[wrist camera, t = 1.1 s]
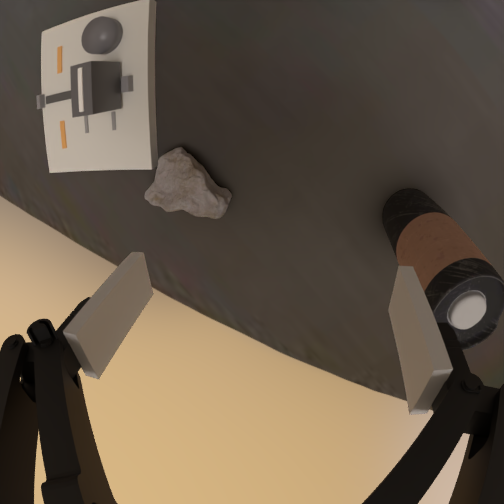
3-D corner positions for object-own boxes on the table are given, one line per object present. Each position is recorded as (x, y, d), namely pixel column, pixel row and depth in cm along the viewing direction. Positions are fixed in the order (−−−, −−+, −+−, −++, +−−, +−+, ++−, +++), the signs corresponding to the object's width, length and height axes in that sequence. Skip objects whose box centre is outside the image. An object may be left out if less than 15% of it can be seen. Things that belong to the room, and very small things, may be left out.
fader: (100, 65, 31) (69, 66, 26) (120, 61, 31) (90, 60, 25) (101, 111, 34) (71, 117, 29) (121, 108, 34) (92, 114, 28)
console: (50, 32, 31) (32, 31, 27) (156, 1, 29) (141, -6, 25) (57, 168, 41) (41, 176, 38) (158, 165, 39) (144, 173, 36)
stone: (171, 138, 37) (151, 147, 32) (245, 166, 38) (236, 179, 33) (155, 195, 41) (136, 211, 36) (223, 222, 42) (212, 243, 37)
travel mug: (368, 210, 38) (410, 314, 20) (416, 173, 34) (497, 253, 17) (399, 253, 39) (445, 366, 22) (444, 220, 36) (518, 317, 19)
